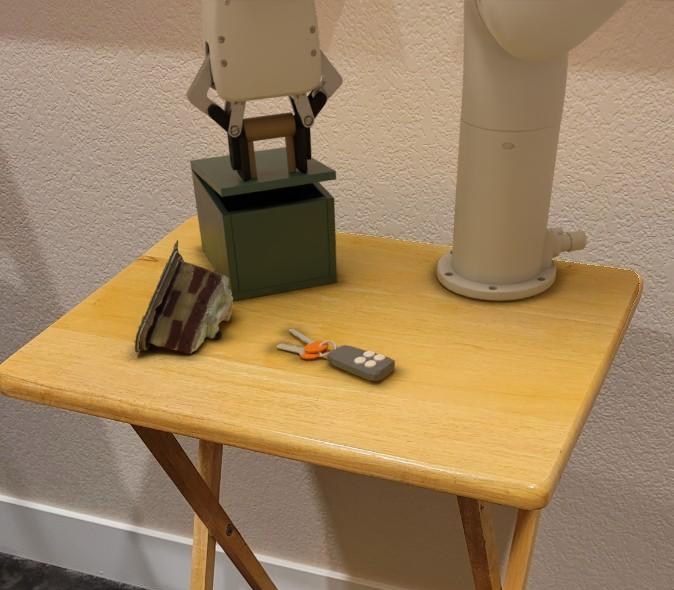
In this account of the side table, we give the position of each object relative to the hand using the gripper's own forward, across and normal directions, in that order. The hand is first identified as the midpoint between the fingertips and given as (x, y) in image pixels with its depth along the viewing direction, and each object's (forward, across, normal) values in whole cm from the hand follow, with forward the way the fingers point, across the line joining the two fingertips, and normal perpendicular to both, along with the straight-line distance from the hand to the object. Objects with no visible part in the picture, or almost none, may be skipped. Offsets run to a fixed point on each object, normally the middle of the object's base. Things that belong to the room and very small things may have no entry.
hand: (271, 170), depth 87 cm
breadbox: (+12, 0, -6) cm, 13 cm away
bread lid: (+2, 0, -5) cm, 5 cm away
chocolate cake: (+12, +11, +7) cm, 18 cm away
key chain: (+12, 0, +17) cm, 21 cm away
